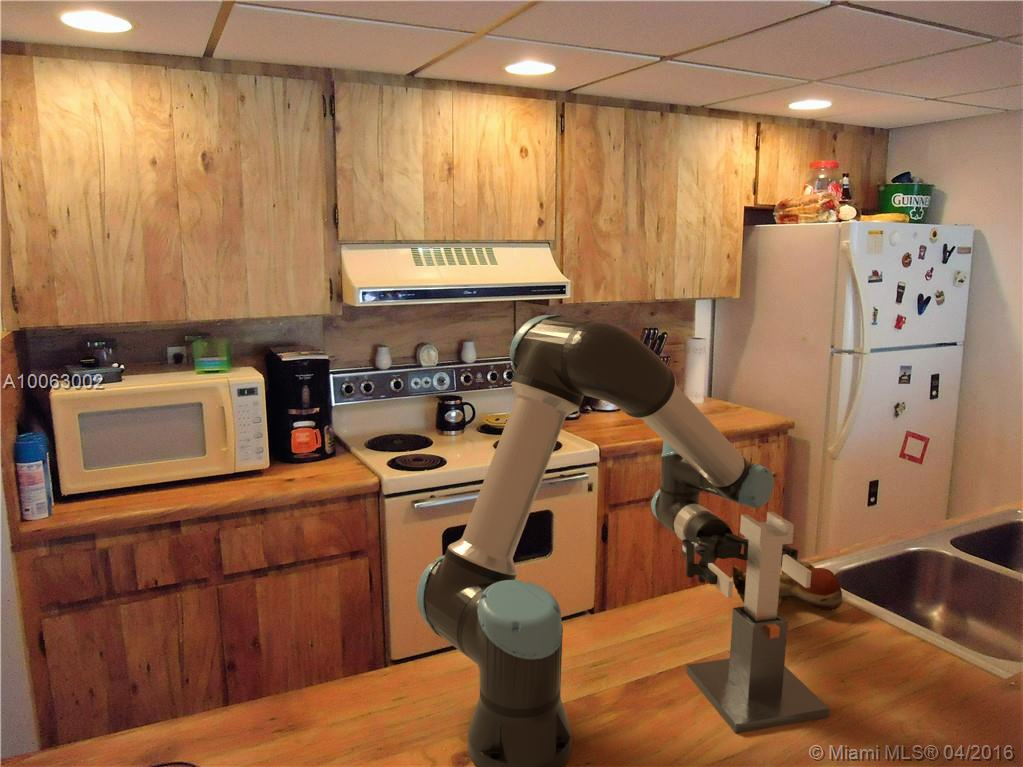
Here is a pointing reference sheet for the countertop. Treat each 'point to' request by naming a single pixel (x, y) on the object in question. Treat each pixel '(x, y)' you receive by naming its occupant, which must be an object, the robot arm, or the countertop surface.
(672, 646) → the countertop surface
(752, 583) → the column
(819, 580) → the beige sneaker
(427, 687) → the countertop surface
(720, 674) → the stand
